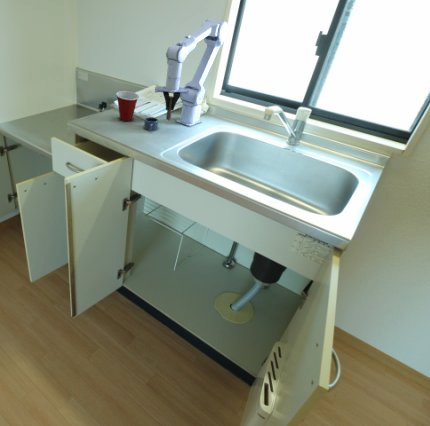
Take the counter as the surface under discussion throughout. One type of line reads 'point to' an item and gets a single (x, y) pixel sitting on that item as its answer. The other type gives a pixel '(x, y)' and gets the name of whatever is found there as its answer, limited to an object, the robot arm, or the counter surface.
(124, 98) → the plastic cup
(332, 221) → the counter surface
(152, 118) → the coffee cup
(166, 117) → the stirrer
